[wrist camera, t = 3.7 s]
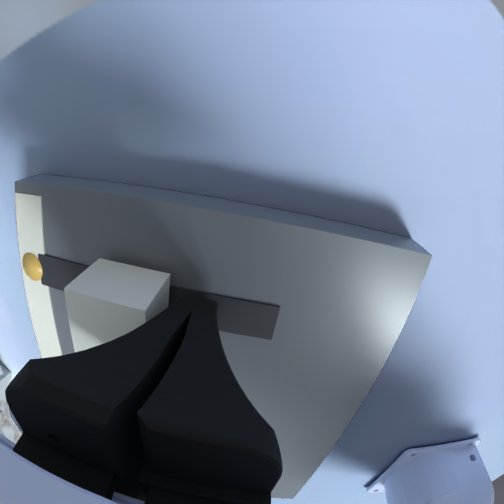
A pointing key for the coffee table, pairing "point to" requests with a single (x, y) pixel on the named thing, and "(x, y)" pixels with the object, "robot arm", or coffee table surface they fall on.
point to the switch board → (237, 292)
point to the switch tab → (113, 301)
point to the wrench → (6, 409)
